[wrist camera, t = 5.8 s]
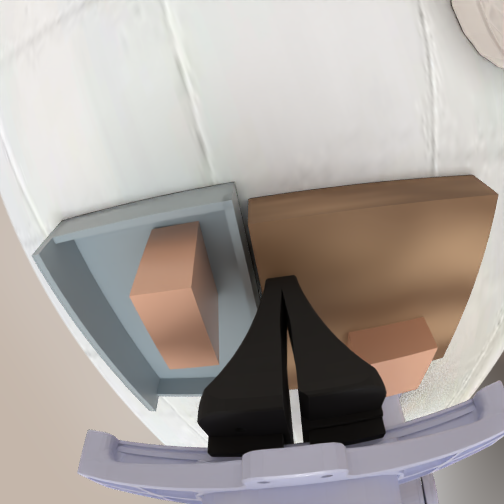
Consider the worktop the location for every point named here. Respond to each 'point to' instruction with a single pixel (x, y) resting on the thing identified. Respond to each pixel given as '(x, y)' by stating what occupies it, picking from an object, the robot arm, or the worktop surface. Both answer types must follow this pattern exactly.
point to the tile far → (396, 352)
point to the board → (377, 251)
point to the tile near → (178, 296)
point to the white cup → (483, 26)
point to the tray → (123, 274)
